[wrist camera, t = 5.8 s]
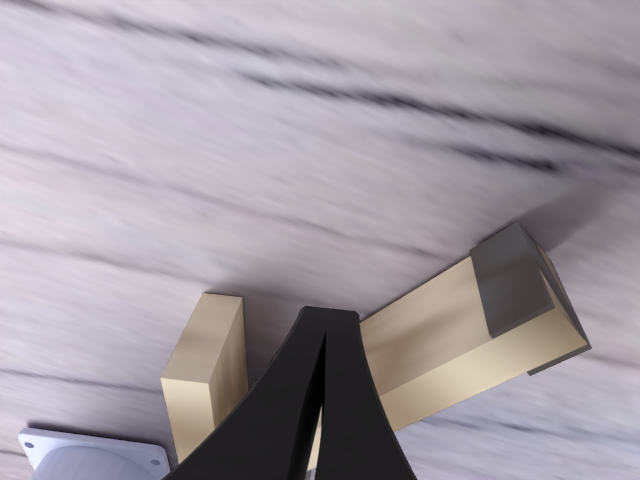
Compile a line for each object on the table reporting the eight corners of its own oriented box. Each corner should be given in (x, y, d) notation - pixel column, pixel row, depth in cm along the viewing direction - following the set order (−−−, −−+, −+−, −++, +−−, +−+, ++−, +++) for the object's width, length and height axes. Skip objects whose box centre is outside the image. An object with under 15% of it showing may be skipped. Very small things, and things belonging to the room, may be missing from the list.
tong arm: (300, 399, 22) (284, 485, 18) (268, 374, 21) (245, 459, 18) (551, 260, 16) (591, 348, 13) (517, 220, 16) (551, 302, 12)
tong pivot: (316, 437, 24) (302, 529, 20) (203, 422, 24) (171, 510, 20) (322, 306, 19) (307, 395, 15) (183, 290, 19) (136, 374, 16)
